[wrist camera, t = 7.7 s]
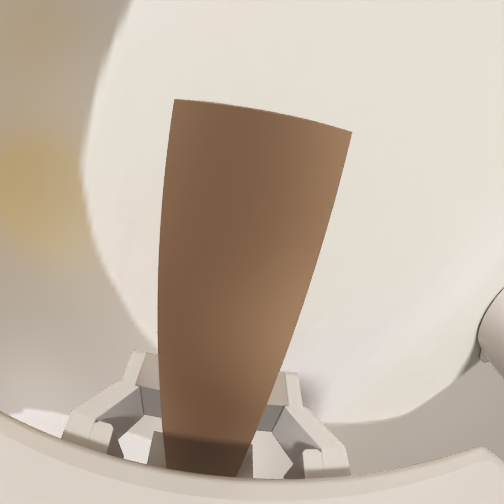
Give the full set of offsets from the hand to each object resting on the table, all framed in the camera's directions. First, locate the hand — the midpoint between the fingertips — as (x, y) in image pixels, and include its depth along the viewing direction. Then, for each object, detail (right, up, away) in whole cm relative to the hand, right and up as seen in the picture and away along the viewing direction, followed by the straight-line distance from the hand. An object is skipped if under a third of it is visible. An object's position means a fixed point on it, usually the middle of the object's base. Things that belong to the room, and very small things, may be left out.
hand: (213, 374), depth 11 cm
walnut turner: (0, +1, +1) cm, 2 cm away
